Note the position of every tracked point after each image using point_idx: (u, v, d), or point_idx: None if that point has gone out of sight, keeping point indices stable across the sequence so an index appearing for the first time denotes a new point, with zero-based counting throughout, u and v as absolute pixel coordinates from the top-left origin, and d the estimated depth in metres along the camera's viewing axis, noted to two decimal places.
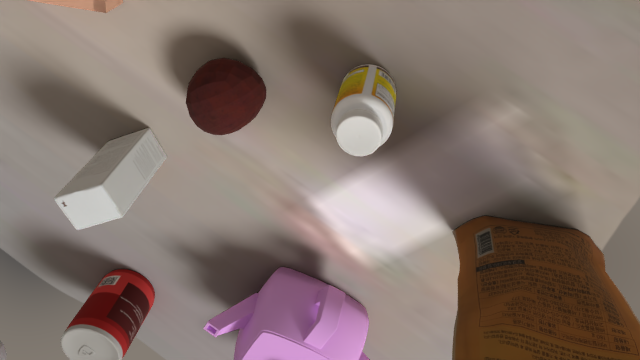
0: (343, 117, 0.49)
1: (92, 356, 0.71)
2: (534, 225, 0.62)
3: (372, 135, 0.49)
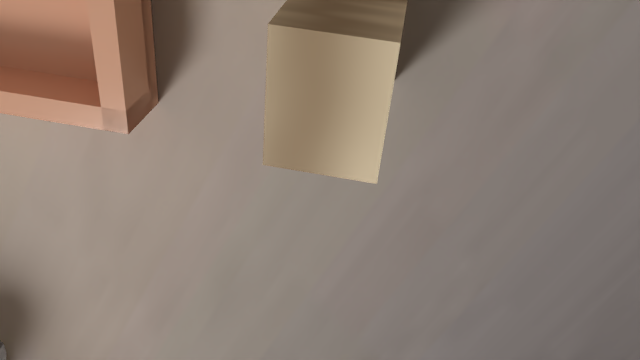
0: None
1: None
2: None
3: None
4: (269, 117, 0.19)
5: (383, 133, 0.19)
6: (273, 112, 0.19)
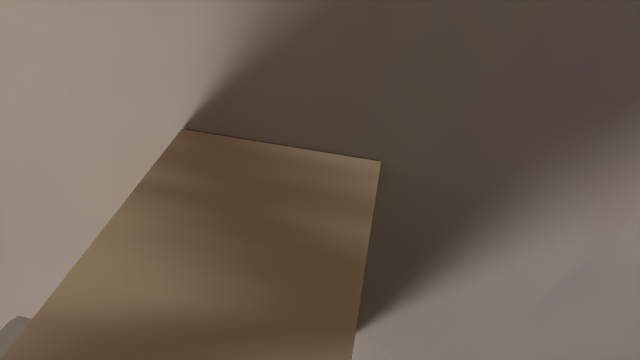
0: None
1: None
2: None
3: None
4: None
5: None
6: None
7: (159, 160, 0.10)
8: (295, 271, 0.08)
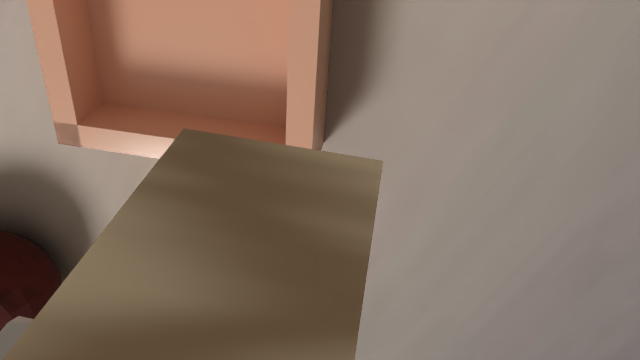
0: None
1: None
2: None
3: None
4: None
5: None
6: None
7: (161, 159, 0.10)
8: (298, 271, 0.08)
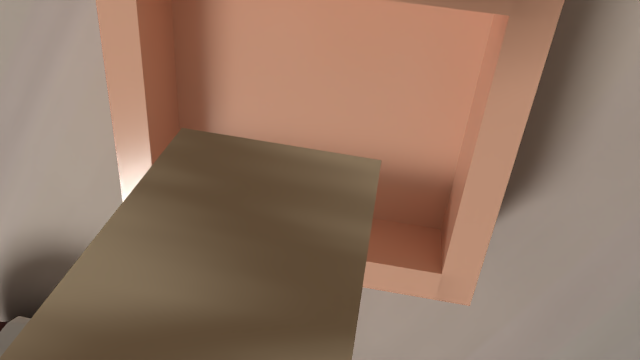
0: None
1: None
2: None
3: None
4: None
5: None
6: None
7: (159, 159, 0.10)
8: (295, 269, 0.08)
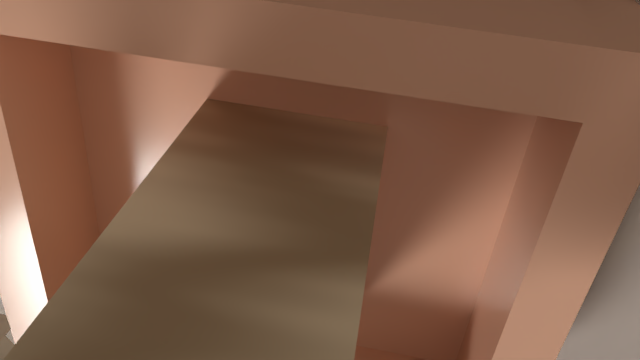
0: None
1: None
2: None
3: None
4: None
5: None
6: None
7: (189, 124, 0.12)
8: (315, 213, 0.10)
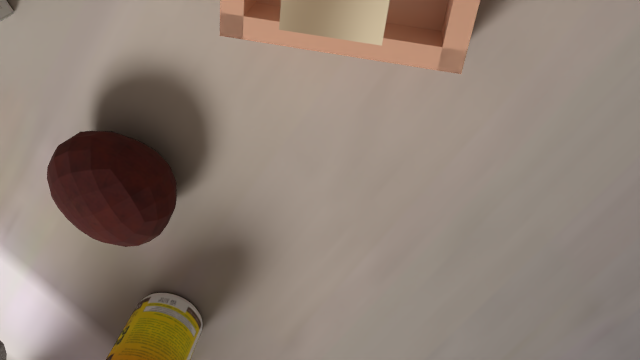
0: None
1: None
2: None
3: None
4: None
5: None
6: None
7: None
8: None
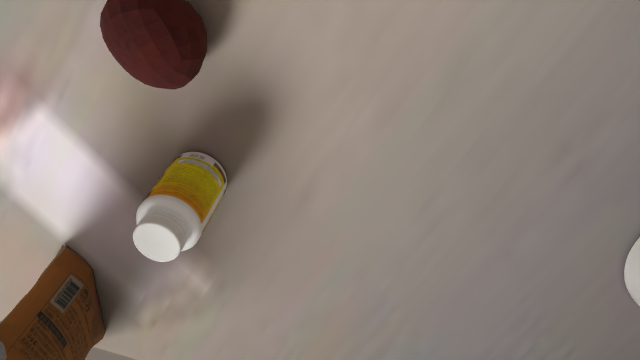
0: (173, 225, 0.45)
1: None
2: (98, 308, 0.65)
3: (161, 255, 0.46)
4: None
5: None
6: None
7: None
8: None
